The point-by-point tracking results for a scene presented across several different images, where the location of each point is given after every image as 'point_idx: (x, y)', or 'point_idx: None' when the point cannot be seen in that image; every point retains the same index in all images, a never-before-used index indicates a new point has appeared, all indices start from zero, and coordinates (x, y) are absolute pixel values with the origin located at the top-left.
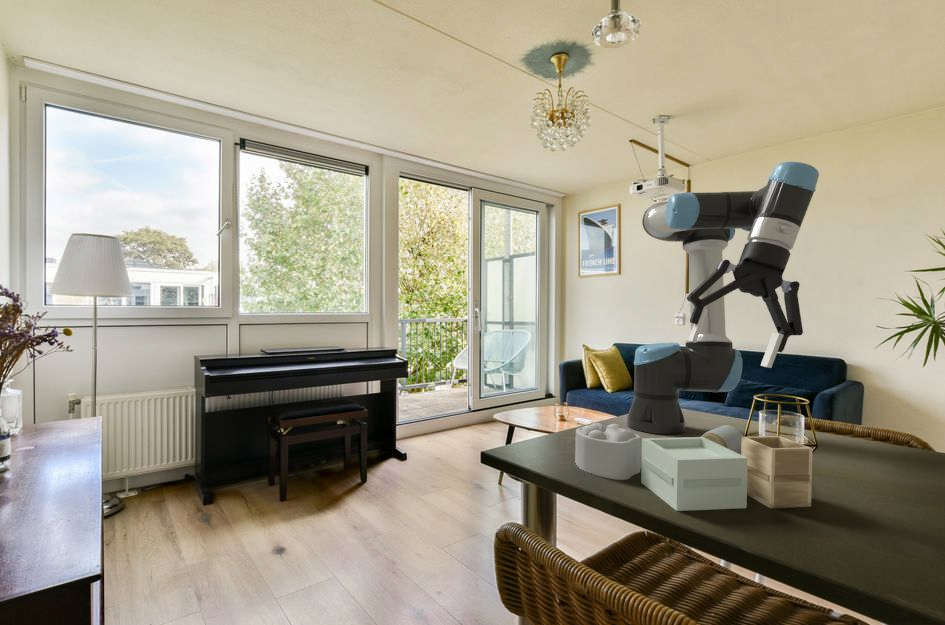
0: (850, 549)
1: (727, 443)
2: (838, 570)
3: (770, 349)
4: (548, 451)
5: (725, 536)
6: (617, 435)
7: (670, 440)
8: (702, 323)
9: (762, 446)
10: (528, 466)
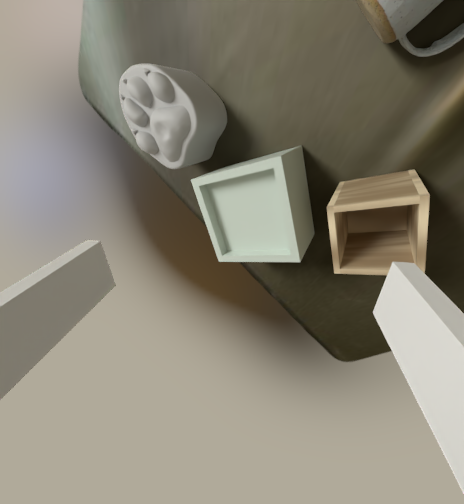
0: (361, 310)
1: (399, 26)
2: (322, 325)
3: (423, 363)
4: (121, 53)
5: (267, 278)
6: (165, 154)
7: (225, 179)
8: (54, 342)
9: (332, 255)
10: (123, 132)
